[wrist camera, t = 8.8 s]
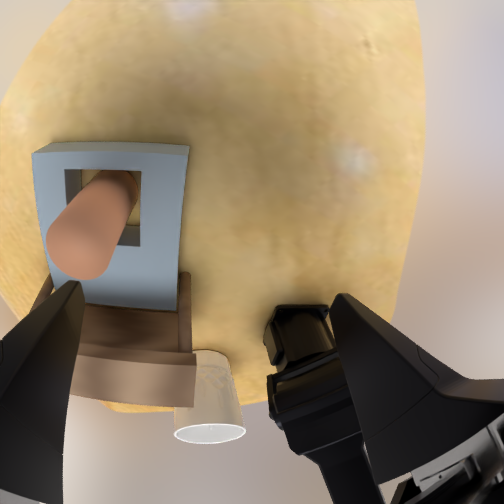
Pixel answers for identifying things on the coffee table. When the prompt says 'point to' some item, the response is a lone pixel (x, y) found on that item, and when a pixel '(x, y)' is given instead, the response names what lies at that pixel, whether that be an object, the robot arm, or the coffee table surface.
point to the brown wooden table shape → (135, 353)
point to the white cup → (211, 404)
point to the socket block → (133, 237)
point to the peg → (92, 225)
